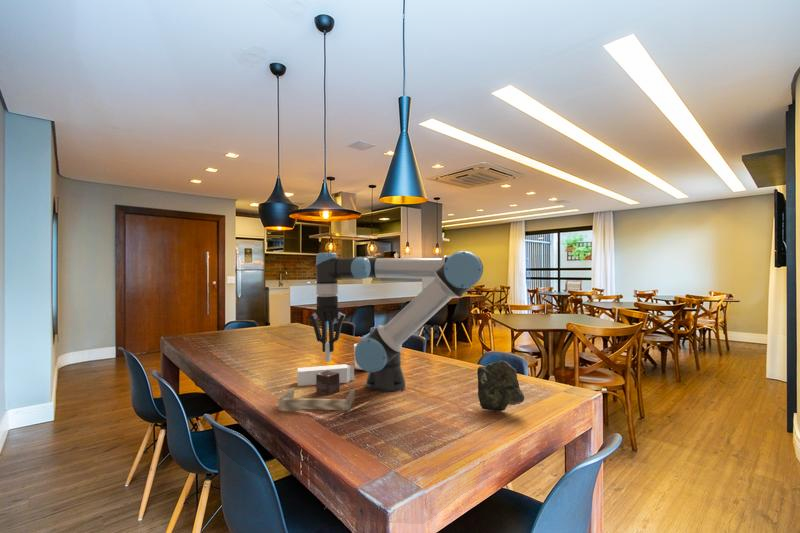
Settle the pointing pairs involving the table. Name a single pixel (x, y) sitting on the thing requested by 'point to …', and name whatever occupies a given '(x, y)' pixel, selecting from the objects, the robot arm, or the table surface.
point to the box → (327, 382)
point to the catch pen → (314, 403)
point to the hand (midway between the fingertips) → (328, 360)
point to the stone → (498, 386)
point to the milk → (309, 373)
